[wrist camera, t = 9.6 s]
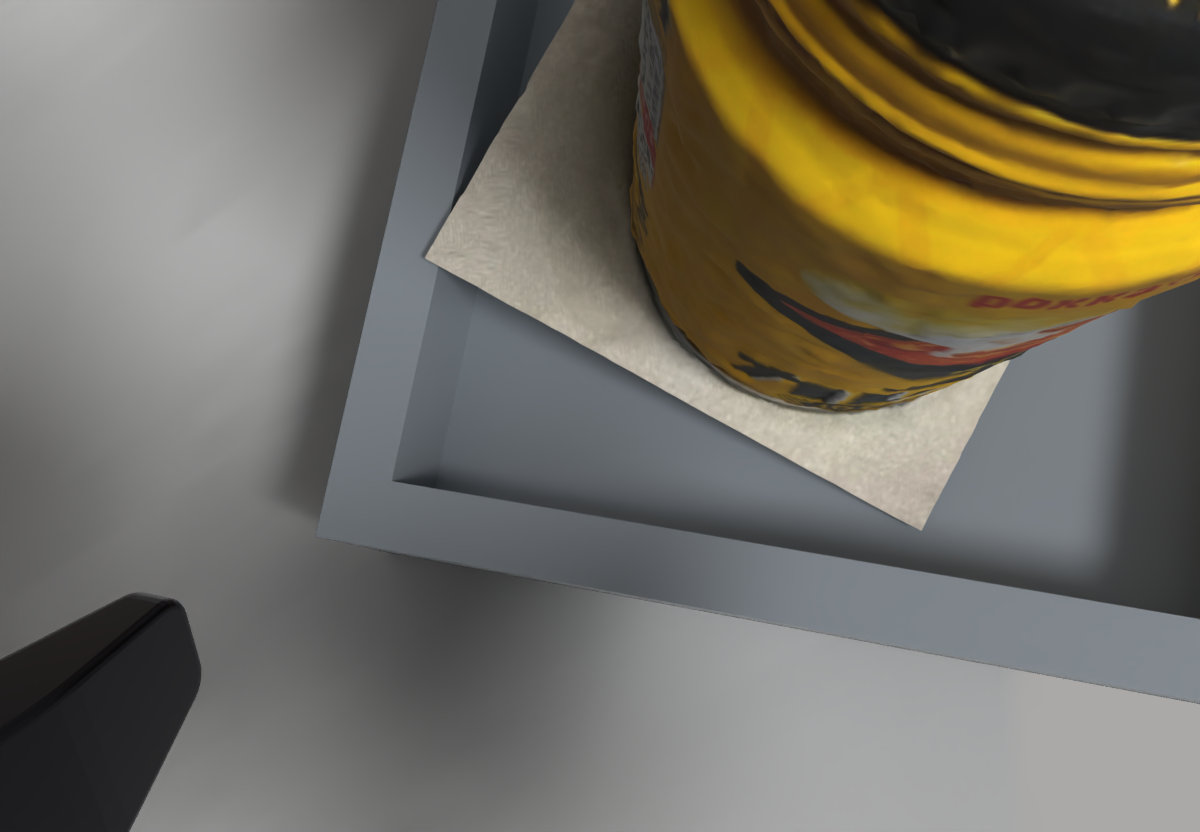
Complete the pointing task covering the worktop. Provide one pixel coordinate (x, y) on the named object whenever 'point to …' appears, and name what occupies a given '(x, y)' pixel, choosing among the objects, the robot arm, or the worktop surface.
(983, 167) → the condiment
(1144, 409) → the grey shallow square tray
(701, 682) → the worktop surface
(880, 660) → the worktop surface
